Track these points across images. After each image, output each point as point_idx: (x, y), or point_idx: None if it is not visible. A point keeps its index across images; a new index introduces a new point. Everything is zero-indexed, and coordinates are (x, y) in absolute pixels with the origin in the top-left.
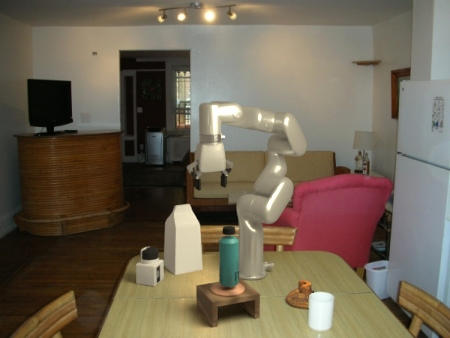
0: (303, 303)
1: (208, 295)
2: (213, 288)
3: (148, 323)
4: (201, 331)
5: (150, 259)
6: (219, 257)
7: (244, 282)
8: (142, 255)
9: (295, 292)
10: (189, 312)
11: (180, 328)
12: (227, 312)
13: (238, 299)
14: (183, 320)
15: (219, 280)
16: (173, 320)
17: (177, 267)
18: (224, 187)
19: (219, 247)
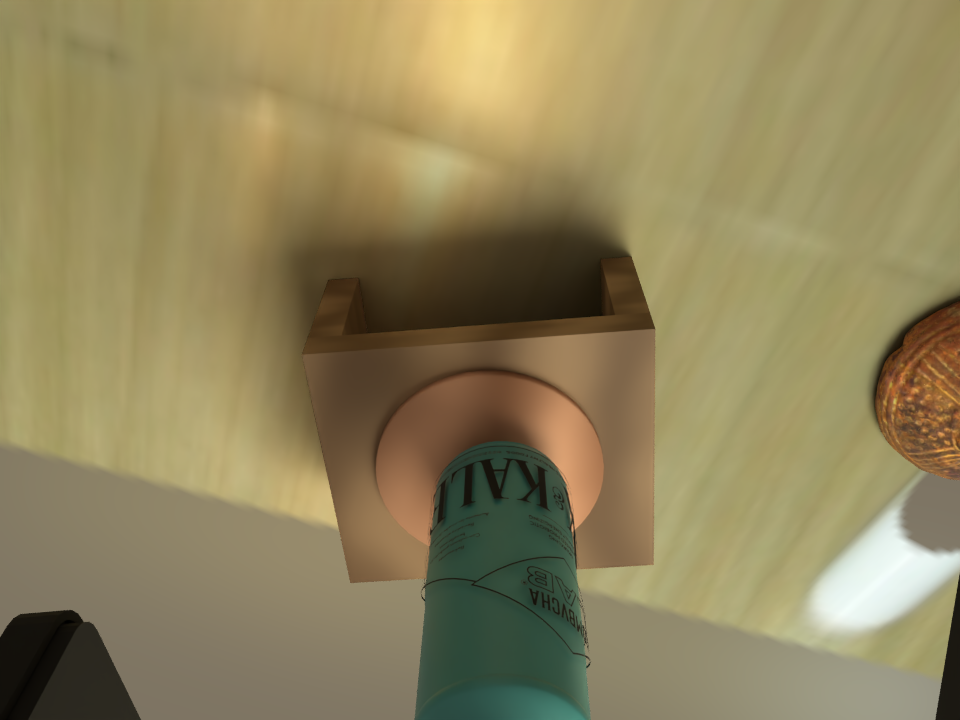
0: (925, 470)
1: (348, 506)
2: (396, 461)
3: (39, 365)
4: (306, 504)
5: None
6: (424, 618)
7: (644, 404)
8: None
9: (952, 416)
10: (279, 313)
11: (208, 454)
12: None
13: None
14: (232, 387)
15: (435, 494)
16: (178, 372)
17: None
18: (951, 710)
19: (417, 689)
